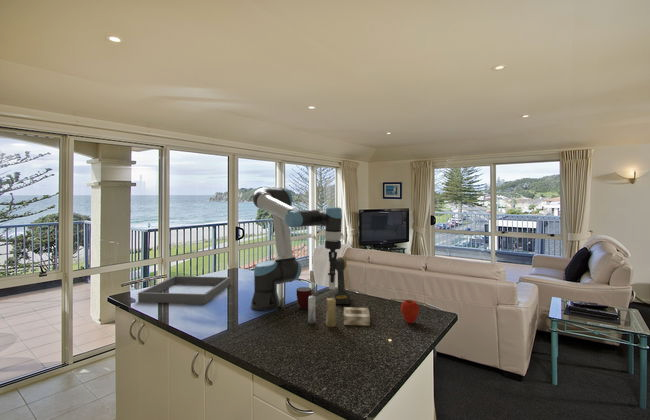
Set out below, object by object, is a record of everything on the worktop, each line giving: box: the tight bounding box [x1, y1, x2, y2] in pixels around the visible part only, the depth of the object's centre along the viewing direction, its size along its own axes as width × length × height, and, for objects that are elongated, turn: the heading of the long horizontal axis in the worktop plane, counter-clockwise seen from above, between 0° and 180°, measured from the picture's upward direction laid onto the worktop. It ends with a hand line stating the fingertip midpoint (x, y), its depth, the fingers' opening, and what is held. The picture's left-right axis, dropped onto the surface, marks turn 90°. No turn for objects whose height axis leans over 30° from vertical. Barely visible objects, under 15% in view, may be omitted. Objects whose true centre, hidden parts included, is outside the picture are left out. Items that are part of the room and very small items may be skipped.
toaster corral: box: [137, 275, 231, 305], centre depth 195 cm, size 38×38×5 cm
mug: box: [296, 286, 313, 310], centre depth 169 cm, size 11×8×10 cm
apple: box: [400, 299, 420, 324], centre depth 151 cm, size 9×8×11 cm
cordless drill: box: [333, 256, 351, 305], centre depth 182 cm, size 9×20×25 cm, turn 174°
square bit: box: [325, 297, 337, 328], centre depth 147 cm, size 4×4×12 cm
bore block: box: [343, 306, 371, 326], centre depth 154 cm, size 12×12×4 cm
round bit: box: [307, 295, 317, 324], centre depth 151 cm, size 3×3×12 cm
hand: (331, 284), depth 152 cm, fingers open, 13 cm apart
